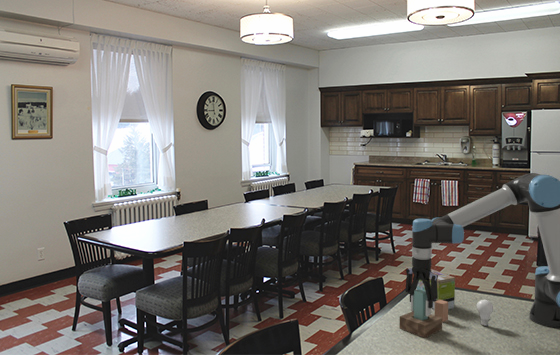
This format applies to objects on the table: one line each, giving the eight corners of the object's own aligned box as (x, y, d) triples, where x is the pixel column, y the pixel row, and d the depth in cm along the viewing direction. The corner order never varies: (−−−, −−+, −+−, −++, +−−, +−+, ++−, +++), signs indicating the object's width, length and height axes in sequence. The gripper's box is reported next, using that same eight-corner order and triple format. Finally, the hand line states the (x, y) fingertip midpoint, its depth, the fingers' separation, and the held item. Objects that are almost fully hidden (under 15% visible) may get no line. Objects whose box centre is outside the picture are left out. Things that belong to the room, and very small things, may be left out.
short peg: (448, 320, 198) (448, 301, 197) (442, 322, 195) (443, 304, 195) (439, 317, 201) (439, 299, 200) (434, 319, 198) (434, 301, 198)
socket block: (442, 329, 188) (442, 317, 187) (424, 338, 180) (425, 325, 180) (416, 320, 197) (416, 309, 197) (399, 328, 190) (399, 316, 189)
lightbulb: (483, 329, 187) (484, 303, 186) (472, 323, 194) (473, 298, 193) (496, 327, 189) (497, 301, 188) (485, 321, 195) (486, 296, 194)
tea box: (415, 301, 221) (416, 271, 219) (431, 298, 225) (432, 268, 224) (438, 311, 207) (439, 279, 206) (455, 308, 211) (455, 276, 210)
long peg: (427, 329, 188) (428, 291, 187) (422, 332, 186) (422, 293, 184) (419, 326, 191) (420, 288, 190) (413, 328, 189) (414, 290, 188)
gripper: (396, 254, 191) (395, 308, 193) (437, 263, 176) (436, 322, 178) (407, 251, 196) (406, 304, 198) (448, 260, 181) (447, 317, 183)
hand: (420, 312), depth 188 cm, fingers open, 6 cm apart
